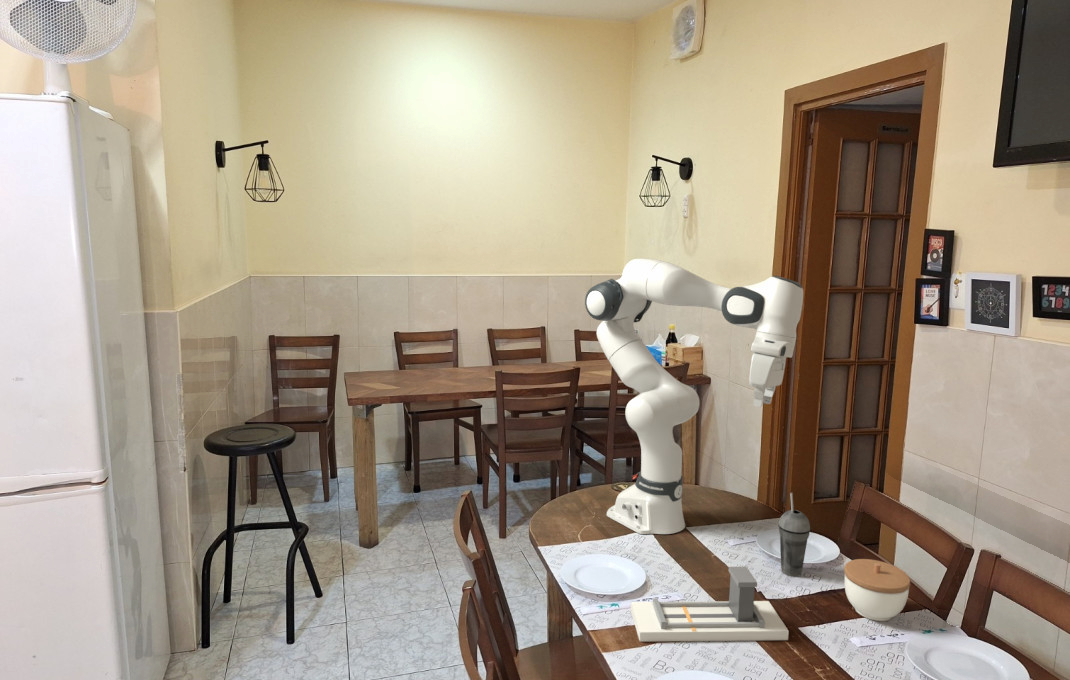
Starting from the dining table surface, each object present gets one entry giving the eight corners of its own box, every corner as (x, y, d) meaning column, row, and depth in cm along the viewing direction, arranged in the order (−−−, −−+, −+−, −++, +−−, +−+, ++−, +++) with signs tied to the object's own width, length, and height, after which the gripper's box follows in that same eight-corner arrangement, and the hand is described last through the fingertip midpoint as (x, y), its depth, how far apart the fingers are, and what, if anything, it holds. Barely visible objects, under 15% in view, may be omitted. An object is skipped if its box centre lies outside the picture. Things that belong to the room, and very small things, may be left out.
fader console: (639, 641, 133) (640, 625, 133) (630, 610, 144) (631, 595, 144) (788, 640, 134) (789, 624, 134) (768, 609, 145) (768, 594, 144)
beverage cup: (810, 581, 157) (816, 500, 153) (777, 578, 158) (782, 498, 155) (804, 566, 164) (809, 489, 161) (773, 563, 165) (778, 486, 162)
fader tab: (736, 623, 136) (738, 582, 134) (726, 606, 142) (728, 566, 141) (754, 623, 136) (757, 582, 134) (744, 605, 142) (746, 566, 141)
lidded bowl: (881, 635, 136) (885, 585, 134) (828, 604, 147) (832, 558, 145) (919, 619, 142) (924, 570, 140) (866, 590, 153) (870, 545, 151)
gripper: (768, 344, 165) (758, 399, 166) (749, 343, 147) (737, 404, 148) (795, 349, 162) (784, 405, 163) (779, 349, 144) (766, 411, 145)
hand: (762, 405), depth 156 cm, fingers open, 8 cm apart
